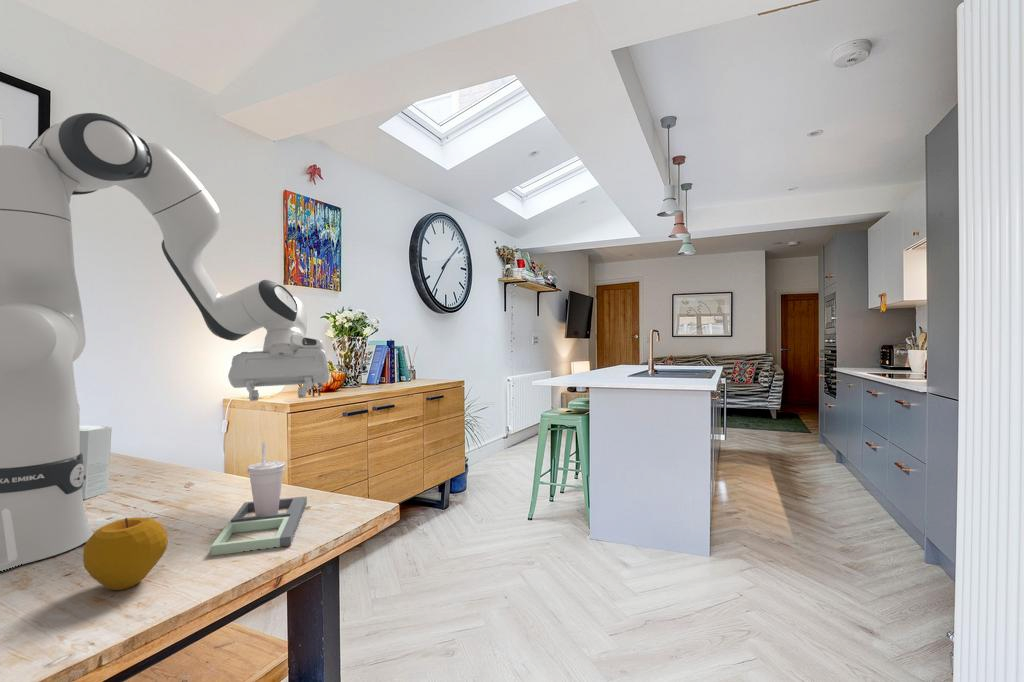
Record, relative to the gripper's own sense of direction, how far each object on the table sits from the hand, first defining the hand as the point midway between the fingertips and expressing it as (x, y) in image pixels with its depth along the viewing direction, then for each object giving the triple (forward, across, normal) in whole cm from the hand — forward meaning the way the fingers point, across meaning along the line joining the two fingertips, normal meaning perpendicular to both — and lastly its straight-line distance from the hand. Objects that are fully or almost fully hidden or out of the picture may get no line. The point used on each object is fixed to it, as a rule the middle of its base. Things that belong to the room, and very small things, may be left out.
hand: (277, 397), depth 100 cm
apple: (+39, -14, -10) cm, 42 cm away
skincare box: (+5, -42, +24) cm, 48 cm away
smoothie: (+24, 0, +6) cm, 25 cm away
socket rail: (+27, 0, +2) cm, 27 cm away
